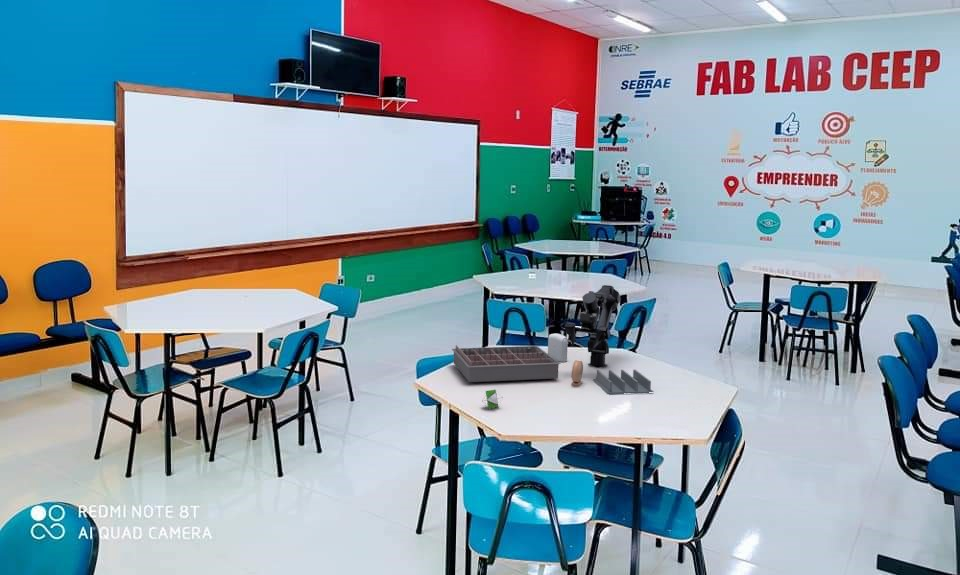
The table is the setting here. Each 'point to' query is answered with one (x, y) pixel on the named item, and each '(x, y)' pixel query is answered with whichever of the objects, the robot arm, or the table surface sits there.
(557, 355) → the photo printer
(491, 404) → the geometric puzzle
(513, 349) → the organizer tray
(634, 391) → the dish rack
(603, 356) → the robot arm
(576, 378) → the peach disc
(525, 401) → the table surface
